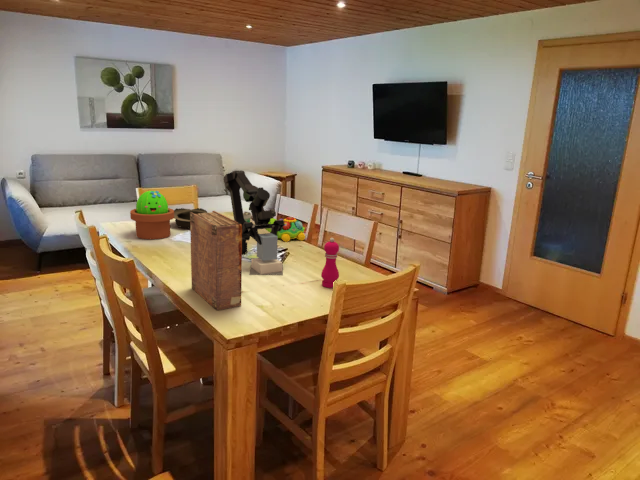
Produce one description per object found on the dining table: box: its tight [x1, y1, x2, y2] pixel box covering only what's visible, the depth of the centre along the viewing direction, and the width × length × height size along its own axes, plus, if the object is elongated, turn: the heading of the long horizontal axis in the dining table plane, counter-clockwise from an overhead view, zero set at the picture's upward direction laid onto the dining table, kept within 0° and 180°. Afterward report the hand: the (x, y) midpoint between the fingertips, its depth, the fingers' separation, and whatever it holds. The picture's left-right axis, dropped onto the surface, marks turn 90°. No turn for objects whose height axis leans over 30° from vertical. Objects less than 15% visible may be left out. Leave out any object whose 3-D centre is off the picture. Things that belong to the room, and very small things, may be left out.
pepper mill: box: [320, 237, 340, 289], centre depth 195 cm, size 7×7×20 cm
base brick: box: [250, 257, 283, 274], centre depth 209 cm, size 10×10×4 cm
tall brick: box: [256, 232, 279, 261], centre depth 207 cm, size 7×7×10 cm
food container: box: [243, 211, 253, 222], centre depth 279 cm, size 12×6×10 cm, turn 168°
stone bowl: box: [173, 207, 208, 230], centre depth 284 cm, size 25×25×9 cm
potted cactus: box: [129, 190, 175, 240], centre depth 257 cm, size 22×22×25 cm
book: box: [189, 210, 243, 311], centre depth 176 cm, size 25×9×30 cm, turn 34°
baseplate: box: [248, 264, 284, 276], centre depth 210 cm, size 14×15×1 cm
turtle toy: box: [265, 216, 306, 243], centre depth 266 cm, size 17×23×12 cm
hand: (268, 243), depth 206 cm, fingers closed on tall brick, 7 cm apart
